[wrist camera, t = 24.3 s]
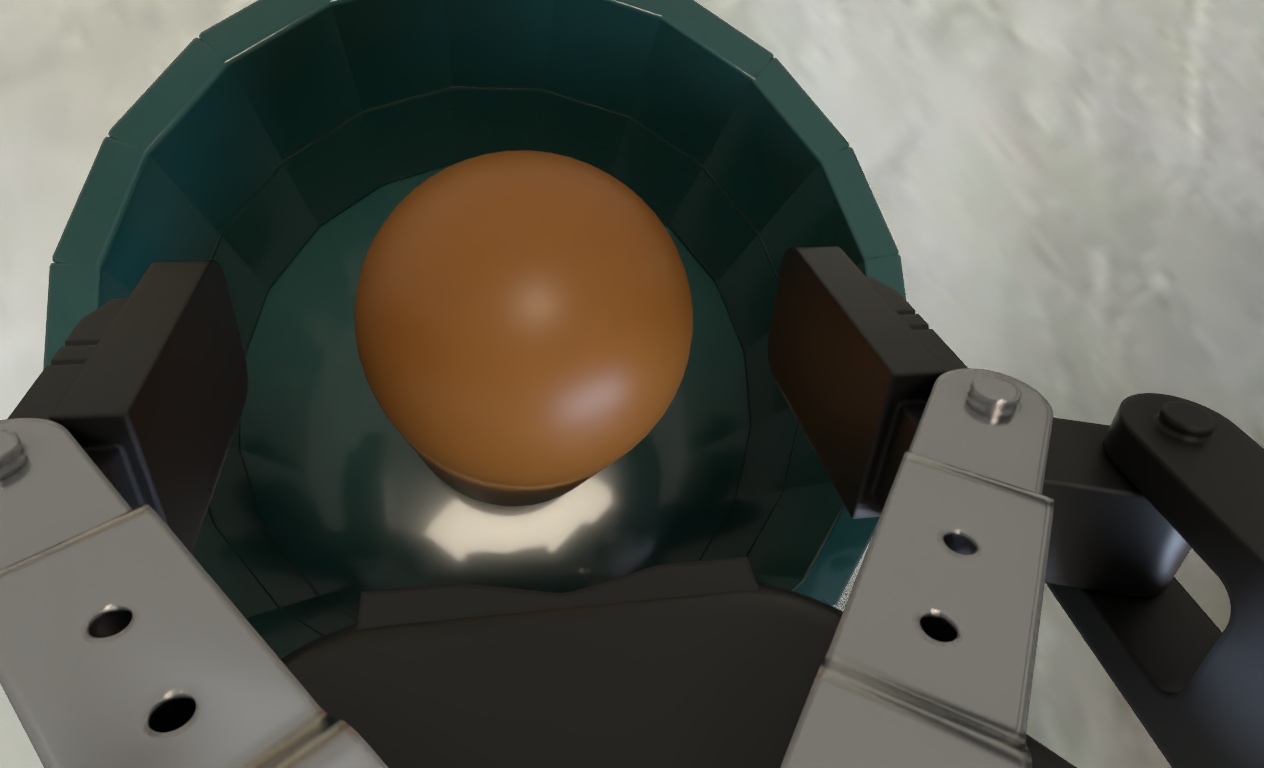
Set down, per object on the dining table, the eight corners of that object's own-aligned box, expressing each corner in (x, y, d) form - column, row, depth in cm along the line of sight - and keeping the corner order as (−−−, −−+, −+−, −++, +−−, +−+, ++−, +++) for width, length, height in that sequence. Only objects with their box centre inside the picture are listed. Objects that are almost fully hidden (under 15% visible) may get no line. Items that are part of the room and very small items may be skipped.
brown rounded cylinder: (533, 253, 21) (568, 13, 11) (665, 415, 20) (810, 307, 11) (357, 378, 19) (233, 223, 10) (496, 552, 19) (499, 561, 10)
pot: (548, 55, 22) (576, -183, 15) (869, 442, 22) (1061, 391, 14) (91, 353, 19) (-160, 234, 12) (456, 818, 18) (432, 999, 11)
